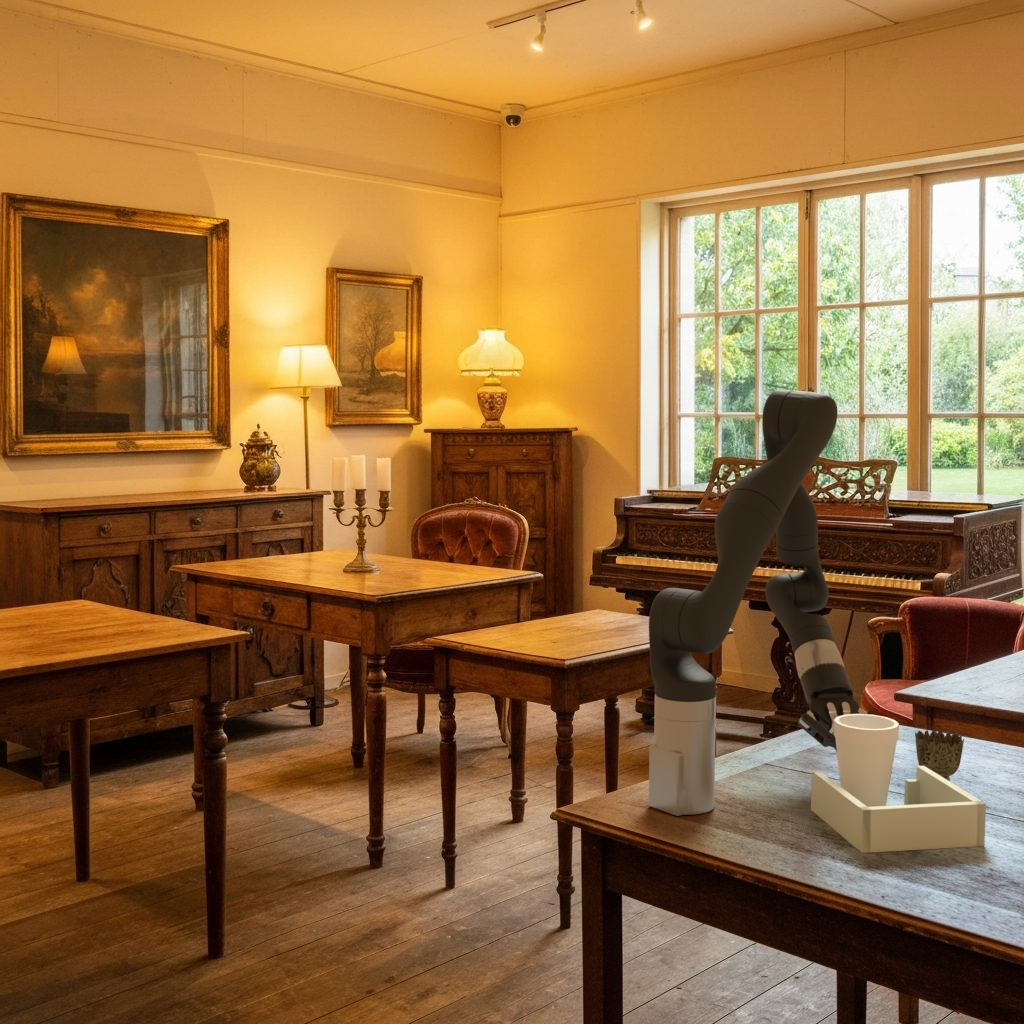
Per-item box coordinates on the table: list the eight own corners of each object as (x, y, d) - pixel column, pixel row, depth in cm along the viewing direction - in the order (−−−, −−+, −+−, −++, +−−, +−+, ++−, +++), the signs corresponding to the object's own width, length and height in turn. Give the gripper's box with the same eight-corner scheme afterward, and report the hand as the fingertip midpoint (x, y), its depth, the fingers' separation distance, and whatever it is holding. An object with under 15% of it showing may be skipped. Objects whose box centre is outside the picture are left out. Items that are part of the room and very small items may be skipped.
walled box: (810, 809, 186) (811, 770, 185) (922, 803, 188) (923, 765, 188) (861, 852, 168) (862, 810, 167) (984, 845, 170) (985, 803, 170)
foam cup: (871, 819, 181) (873, 733, 180) (819, 803, 188) (821, 720, 187) (908, 806, 187) (911, 722, 186) (857, 791, 194) (859, 710, 193)
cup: (965, 792, 194) (967, 742, 193) (916, 789, 195) (918, 740, 194) (958, 778, 201) (960, 730, 200) (911, 775, 202) (912, 728, 202)
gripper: (790, 662, 199) (819, 758, 188) (867, 659, 201) (900, 754, 191) (777, 686, 205) (804, 781, 194) (852, 683, 207) (883, 777, 196)
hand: (852, 767), depth 192 cm, fingers closed
